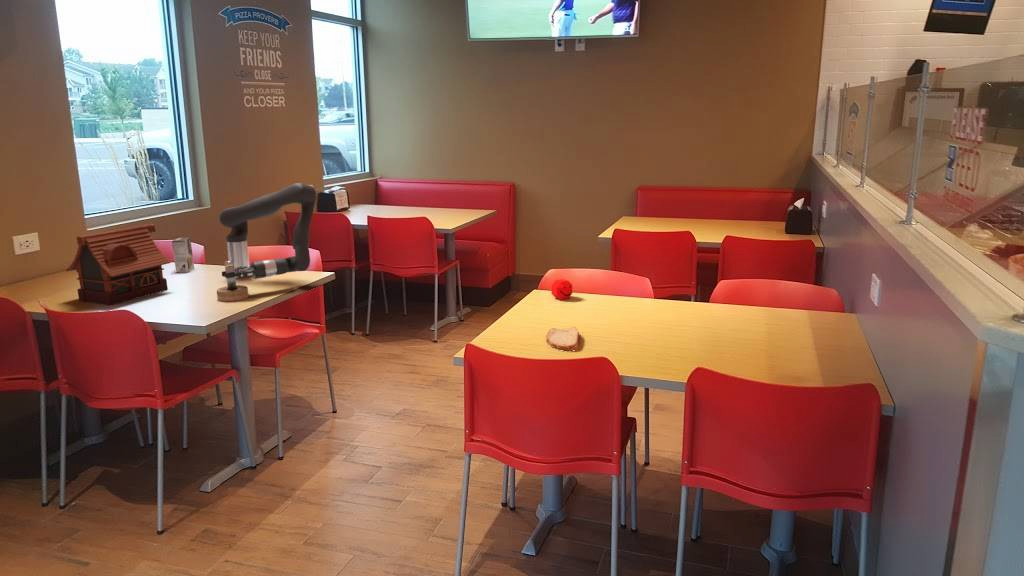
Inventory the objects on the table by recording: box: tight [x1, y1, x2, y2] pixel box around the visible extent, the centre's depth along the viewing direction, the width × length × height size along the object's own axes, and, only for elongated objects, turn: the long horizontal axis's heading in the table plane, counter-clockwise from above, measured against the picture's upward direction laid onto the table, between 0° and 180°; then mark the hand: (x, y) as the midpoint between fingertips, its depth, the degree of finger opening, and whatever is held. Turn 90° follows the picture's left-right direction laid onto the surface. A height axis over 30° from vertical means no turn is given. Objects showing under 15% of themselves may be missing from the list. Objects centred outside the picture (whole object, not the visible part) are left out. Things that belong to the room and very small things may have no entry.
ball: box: [550, 278, 573, 301], centre depth 304 cm, size 8×8×8 cm
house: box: [65, 223, 172, 306], centre depth 315 cm, size 35×28×29 cm
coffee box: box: [171, 237, 195, 273], centre depth 363 cm, size 9×6×16 cm
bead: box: [216, 284, 249, 302], centre depth 311 cm, size 12×12×4 cm
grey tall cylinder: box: [224, 260, 237, 290], centre depth 309 cm, size 4×4×14 cm
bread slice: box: [545, 326, 580, 352], centre depth 249 cm, size 18×18×4 cm
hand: (223, 275), depth 307 cm, fingers closed on grey tall cylinder, 3 cm apart
